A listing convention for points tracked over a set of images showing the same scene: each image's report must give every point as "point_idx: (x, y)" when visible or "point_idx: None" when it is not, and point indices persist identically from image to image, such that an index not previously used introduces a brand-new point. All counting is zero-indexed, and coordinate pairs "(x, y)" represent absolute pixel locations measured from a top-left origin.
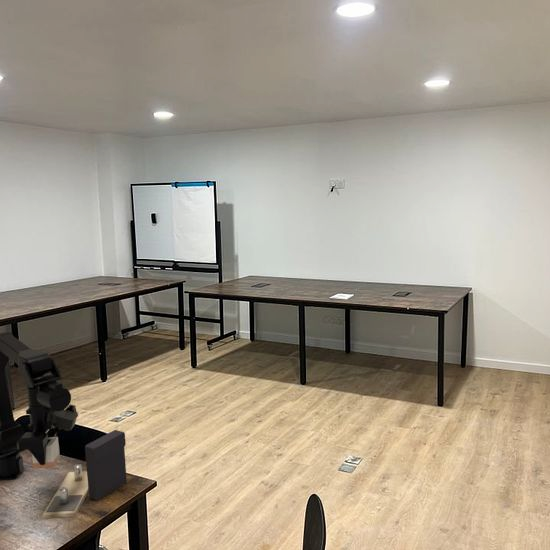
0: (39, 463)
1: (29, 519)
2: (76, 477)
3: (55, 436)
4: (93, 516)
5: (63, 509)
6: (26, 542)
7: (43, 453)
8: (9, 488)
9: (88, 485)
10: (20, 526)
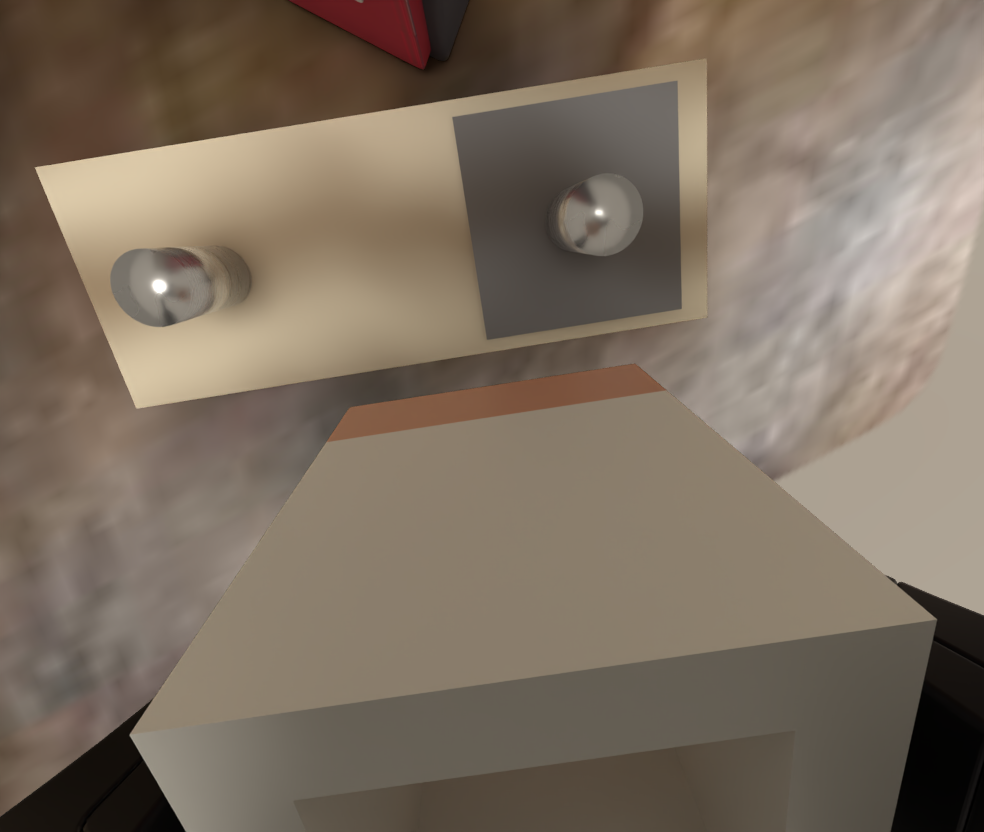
0: None
1: (695, 393)
2: (236, 282)
3: (50, 803)
4: None
5: (664, 183)
6: (934, 285)
7: (943, 613)
8: None
9: (446, 4)
10: (762, 408)
